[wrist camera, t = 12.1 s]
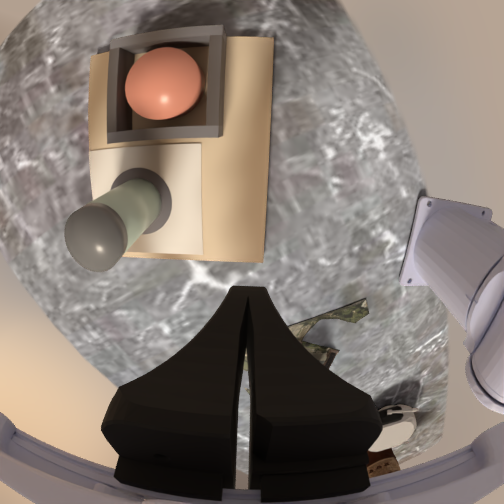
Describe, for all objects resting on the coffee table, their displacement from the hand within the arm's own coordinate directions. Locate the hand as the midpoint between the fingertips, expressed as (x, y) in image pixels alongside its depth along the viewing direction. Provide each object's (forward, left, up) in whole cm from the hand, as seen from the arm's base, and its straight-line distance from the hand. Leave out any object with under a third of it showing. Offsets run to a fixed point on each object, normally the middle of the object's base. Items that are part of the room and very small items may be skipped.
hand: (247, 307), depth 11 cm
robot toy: (-17, +29, -11) cm, 36 cm away
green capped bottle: (+8, -2, -10) cm, 13 cm away
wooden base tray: (+6, -5, -10) cm, 13 cm away
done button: (+5, -10, -9) cm, 14 cm away
